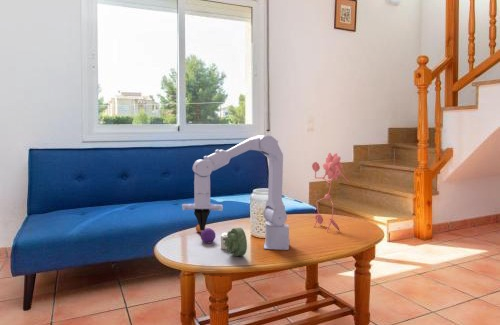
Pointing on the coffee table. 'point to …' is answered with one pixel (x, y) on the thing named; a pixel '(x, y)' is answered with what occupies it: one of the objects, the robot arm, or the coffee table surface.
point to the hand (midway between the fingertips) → (202, 229)
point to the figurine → (333, 171)
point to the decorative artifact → (236, 242)
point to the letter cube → (223, 240)
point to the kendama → (206, 234)
